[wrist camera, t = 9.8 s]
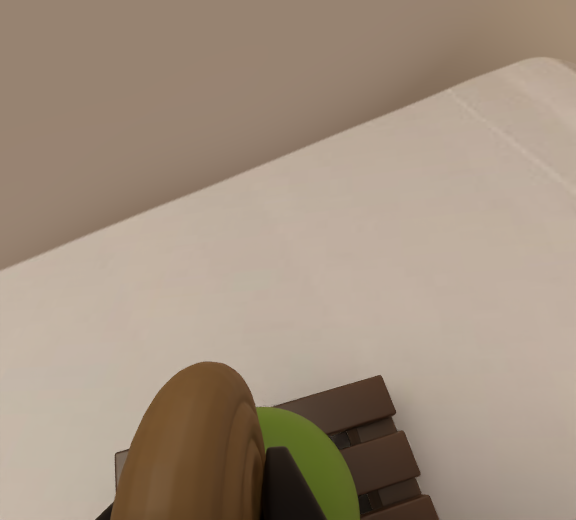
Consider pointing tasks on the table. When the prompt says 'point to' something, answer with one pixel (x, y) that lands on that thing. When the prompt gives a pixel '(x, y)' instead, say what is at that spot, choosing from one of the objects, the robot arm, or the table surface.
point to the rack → (364, 448)
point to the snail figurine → (222, 454)
